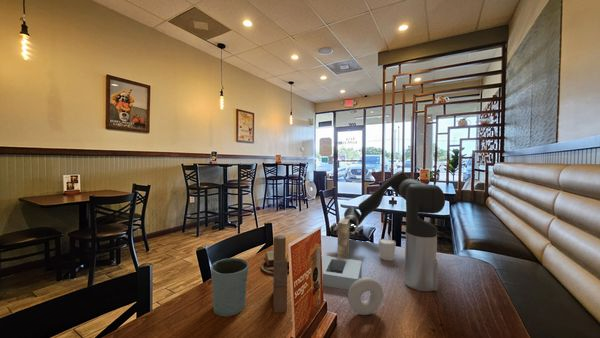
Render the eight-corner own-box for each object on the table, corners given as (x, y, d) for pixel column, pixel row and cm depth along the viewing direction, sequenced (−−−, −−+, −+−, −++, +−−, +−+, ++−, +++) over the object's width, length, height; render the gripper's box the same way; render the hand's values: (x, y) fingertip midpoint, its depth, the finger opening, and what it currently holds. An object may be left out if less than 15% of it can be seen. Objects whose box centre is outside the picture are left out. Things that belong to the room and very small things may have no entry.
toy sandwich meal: (260, 277, 88) (260, 264, 88) (261, 261, 102) (261, 249, 101) (296, 275, 90) (296, 262, 90) (292, 259, 103) (292, 248, 103)
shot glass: (377, 254, 109) (377, 238, 109) (393, 254, 108) (393, 238, 108) (379, 260, 103) (380, 243, 102) (397, 261, 102) (397, 244, 101)
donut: (350, 320, 65) (351, 283, 64) (345, 312, 68) (345, 276, 68) (385, 315, 67) (386, 278, 67) (378, 307, 70) (379, 272, 70)
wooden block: (273, 313, 68) (273, 247, 67) (273, 291, 78) (273, 234, 77) (287, 312, 68) (287, 247, 67) (284, 291, 79) (285, 234, 78)
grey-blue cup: (218, 296, 76) (218, 257, 75) (252, 297, 75) (252, 257, 75) (205, 318, 65) (204, 273, 65) (243, 319, 65) (243, 273, 65)
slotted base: (361, 271, 92) (361, 260, 92) (357, 291, 79) (357, 279, 79) (319, 265, 97) (319, 255, 97) (308, 283, 84) (308, 271, 84)
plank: (348, 256, 107) (349, 219, 106) (346, 264, 99) (346, 223, 98) (340, 255, 108) (341, 218, 107) (337, 262, 100) (338, 223, 99)
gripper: (335, 215, 125) (328, 223, 109) (365, 217, 120) (362, 226, 105) (335, 230, 125) (328, 240, 110) (364, 233, 121) (362, 244, 105)
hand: (345, 233), depth 107 cm, fingers open, 8 cm apart
